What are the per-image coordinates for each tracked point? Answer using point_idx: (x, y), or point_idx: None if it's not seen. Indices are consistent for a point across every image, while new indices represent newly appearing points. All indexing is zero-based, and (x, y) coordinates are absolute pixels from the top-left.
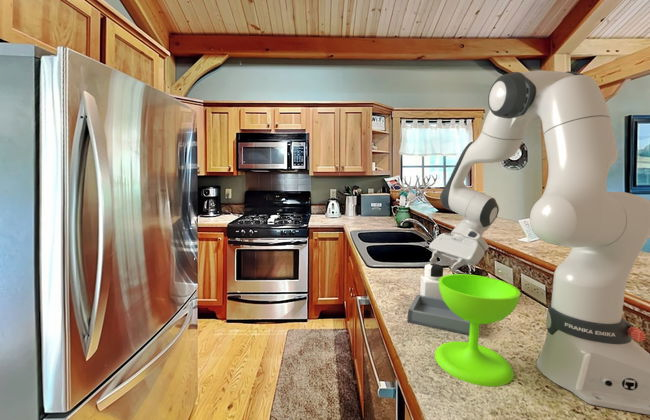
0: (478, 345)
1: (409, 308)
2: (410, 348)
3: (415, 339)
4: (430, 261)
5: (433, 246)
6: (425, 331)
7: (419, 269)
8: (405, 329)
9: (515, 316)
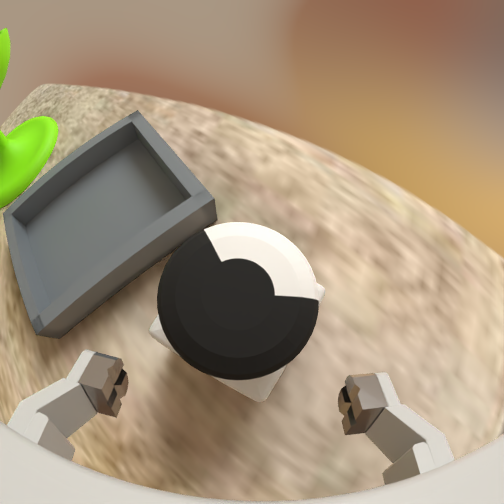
0: (7, 186)
1: (143, 117)
2: (89, 101)
3: (95, 116)
4: (373, 375)
5: (494, 460)
6: None
7: None
8: None
9: None
